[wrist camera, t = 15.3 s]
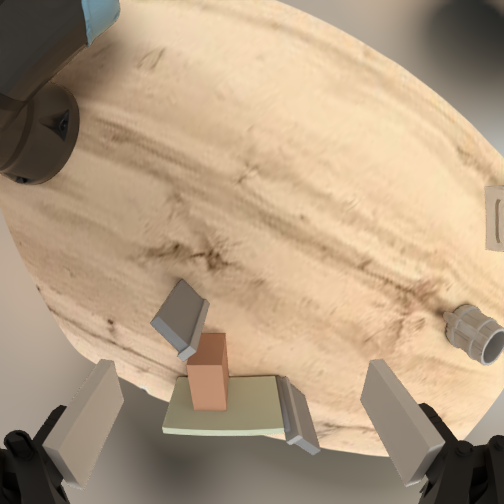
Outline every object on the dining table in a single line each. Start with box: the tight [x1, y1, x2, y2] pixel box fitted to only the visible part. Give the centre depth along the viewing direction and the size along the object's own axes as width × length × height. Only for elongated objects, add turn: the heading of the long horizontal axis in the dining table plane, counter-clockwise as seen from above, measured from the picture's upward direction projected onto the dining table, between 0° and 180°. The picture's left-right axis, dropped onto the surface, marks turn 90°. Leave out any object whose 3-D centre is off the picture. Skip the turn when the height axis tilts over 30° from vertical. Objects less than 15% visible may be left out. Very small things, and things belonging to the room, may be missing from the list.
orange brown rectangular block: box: [186, 333, 229, 411], centre depth 36 cm, size 7×4×8 cm, turn 2°
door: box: [162, 376, 291, 436], centre depth 35 cm, size 15×2×11 cm, turn 91°
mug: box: [443, 305, 504, 365], centre depth 34 cm, size 8×12×12 cm, turn 63°
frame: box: [150, 279, 321, 455], centre depth 33 cm, size 26×2×12 cm, turn 41°
